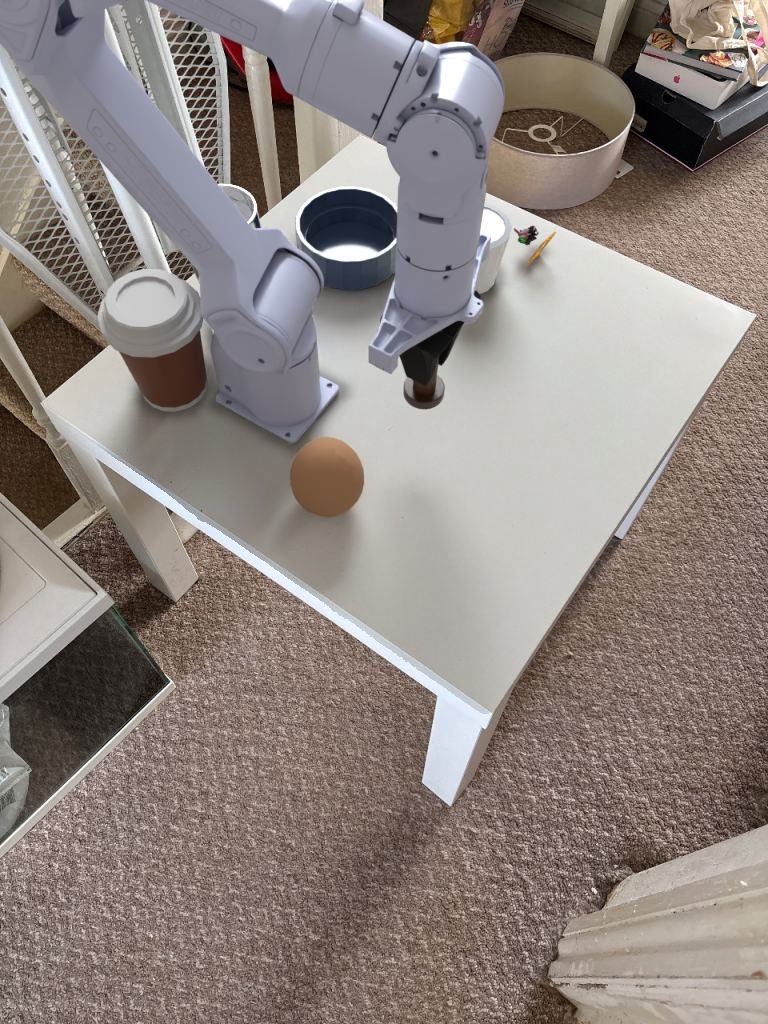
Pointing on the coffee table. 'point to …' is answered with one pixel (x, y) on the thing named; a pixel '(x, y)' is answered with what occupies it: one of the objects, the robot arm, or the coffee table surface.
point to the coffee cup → (157, 336)
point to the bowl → (349, 236)
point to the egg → (326, 477)
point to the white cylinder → (493, 245)
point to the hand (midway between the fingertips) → (425, 368)
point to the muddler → (424, 392)
